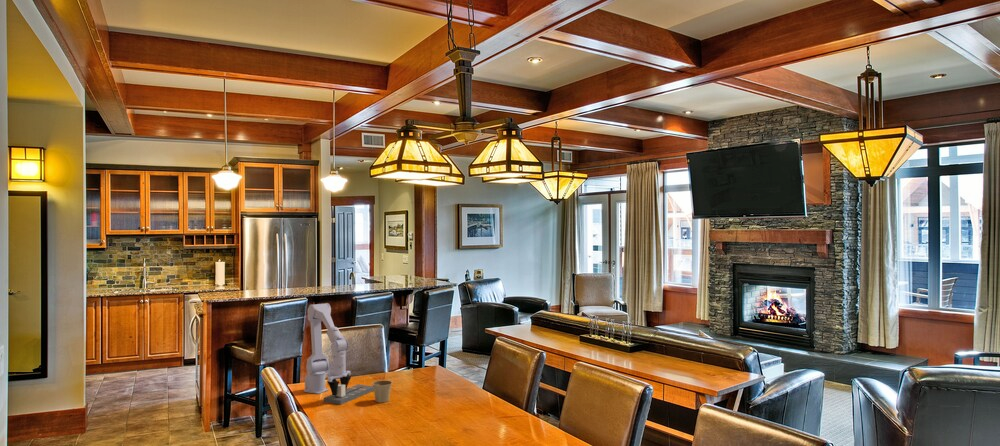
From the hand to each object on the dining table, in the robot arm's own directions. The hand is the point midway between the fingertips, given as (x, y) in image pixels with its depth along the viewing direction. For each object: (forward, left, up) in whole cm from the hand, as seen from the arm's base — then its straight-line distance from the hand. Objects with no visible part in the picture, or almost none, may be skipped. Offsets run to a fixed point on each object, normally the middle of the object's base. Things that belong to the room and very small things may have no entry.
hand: (339, 393), depth 272 cm
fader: (0, 0, -1) cm, 1 cm away
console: (0, +8, -3) cm, 9 cm away
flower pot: (+19, +8, -4) cm, 21 cm away
